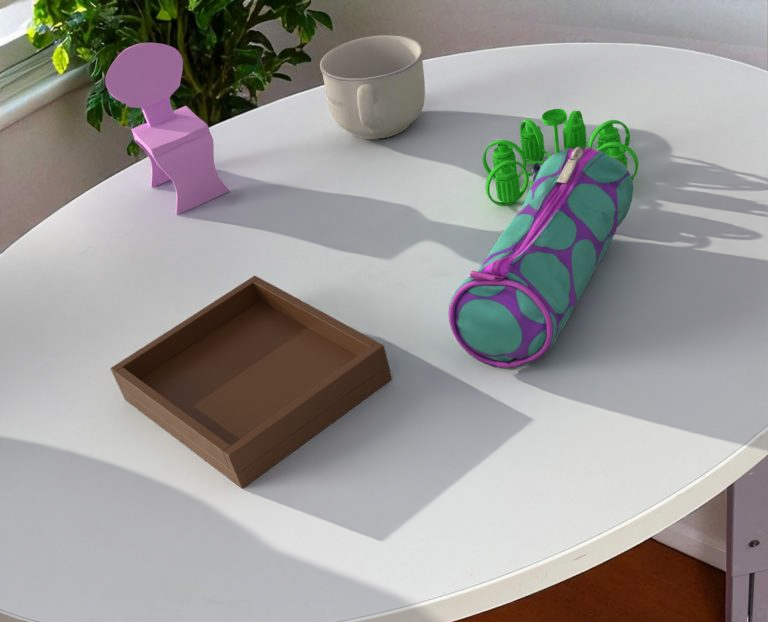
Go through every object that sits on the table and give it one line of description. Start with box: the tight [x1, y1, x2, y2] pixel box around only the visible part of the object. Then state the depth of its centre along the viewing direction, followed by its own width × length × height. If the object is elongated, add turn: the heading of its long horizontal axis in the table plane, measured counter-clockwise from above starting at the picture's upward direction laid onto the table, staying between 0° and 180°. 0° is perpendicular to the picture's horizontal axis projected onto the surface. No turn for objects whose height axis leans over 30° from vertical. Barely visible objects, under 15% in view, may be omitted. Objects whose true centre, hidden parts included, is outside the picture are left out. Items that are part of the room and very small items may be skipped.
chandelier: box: [482, 108, 640, 207], centre depth 100 cm, size 15×15×7 cm
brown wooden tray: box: [110, 275, 393, 490], centre depth 88 cm, size 18×16×4 cm
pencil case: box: [448, 147, 634, 370], centre depth 86 cm, size 21×9×10 cm, turn 154°
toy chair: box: [105, 42, 230, 216], centre depth 110 cm, size 8×9×15 cm
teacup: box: [319, 34, 426, 140], centre depth 113 cm, size 14×11×8 cm
